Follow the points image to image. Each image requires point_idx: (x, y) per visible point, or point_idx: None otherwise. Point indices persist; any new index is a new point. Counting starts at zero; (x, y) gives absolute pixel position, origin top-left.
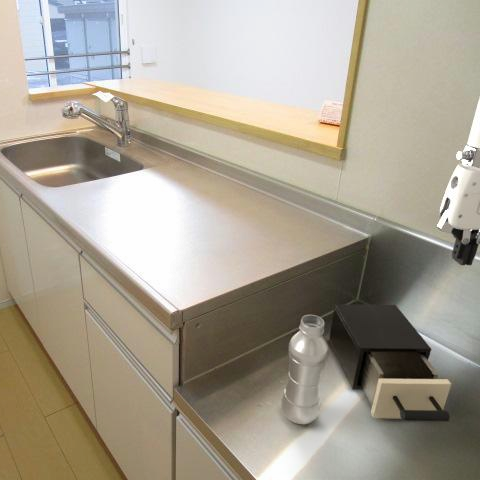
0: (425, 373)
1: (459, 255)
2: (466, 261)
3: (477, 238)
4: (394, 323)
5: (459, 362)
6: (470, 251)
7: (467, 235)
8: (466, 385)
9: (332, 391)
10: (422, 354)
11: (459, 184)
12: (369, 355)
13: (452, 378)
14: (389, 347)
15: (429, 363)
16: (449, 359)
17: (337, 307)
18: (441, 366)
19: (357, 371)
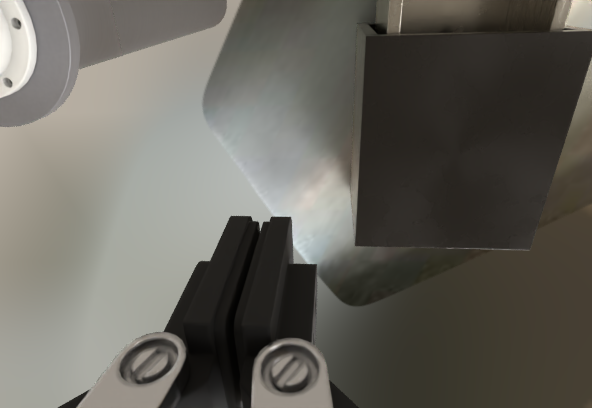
0: None
1: (303, 275)
2: (264, 231)
3: (172, 388)
4: (408, 163)
5: (221, 124)
6: (237, 285)
7: None
8: (240, 45)
9: (581, 7)
10: (389, 29)
11: None
12: (565, 15)
13: (260, 68)
14: (498, 38)
15: None
16: (238, 133)
17: (531, 237)
18: (266, 109)
19: None
